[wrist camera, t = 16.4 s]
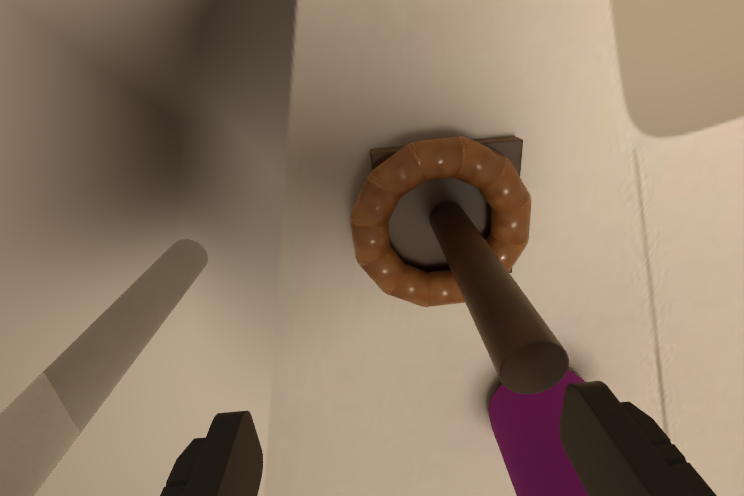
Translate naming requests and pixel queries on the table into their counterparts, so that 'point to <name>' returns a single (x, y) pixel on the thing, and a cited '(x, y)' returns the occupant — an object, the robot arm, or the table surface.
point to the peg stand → (477, 271)
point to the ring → (410, 171)
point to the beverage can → (535, 440)
